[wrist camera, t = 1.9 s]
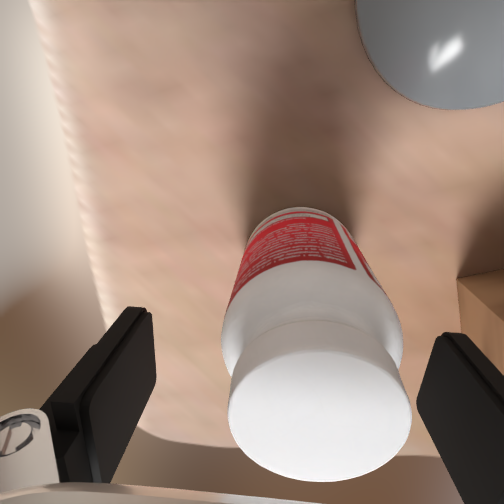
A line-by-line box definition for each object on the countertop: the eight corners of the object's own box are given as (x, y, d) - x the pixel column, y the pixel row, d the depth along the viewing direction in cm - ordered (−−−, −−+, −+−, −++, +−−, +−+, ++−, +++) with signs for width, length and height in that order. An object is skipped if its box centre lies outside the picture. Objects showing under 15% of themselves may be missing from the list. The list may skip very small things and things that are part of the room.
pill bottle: (225, 266, 19) (156, 432, 9) (288, 181, 17) (292, 269, 7) (308, 321, 20) (333, 530, 10) (378, 247, 18) (505, 415, 8)
